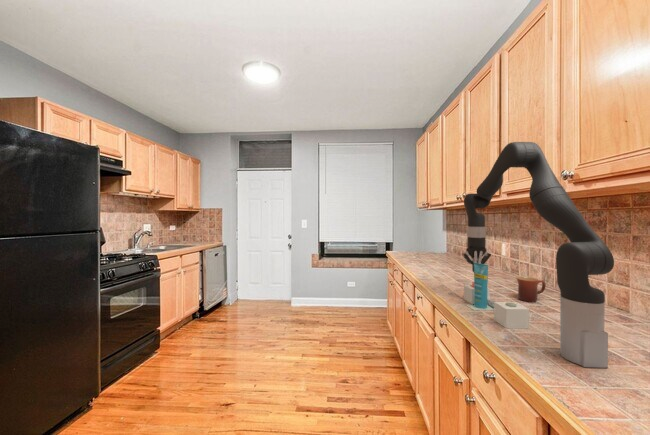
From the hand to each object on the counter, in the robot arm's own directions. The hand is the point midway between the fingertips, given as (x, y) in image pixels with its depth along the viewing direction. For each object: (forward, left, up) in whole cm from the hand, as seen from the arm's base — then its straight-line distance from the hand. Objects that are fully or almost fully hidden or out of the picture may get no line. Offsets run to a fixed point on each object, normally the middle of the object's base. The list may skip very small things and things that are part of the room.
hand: (476, 273), depth 131 cm
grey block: (0, 0, -14) cm, 14 cm away
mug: (+2, -27, -14) cm, 30 cm away
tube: (-9, +2, -13) cm, 16 cm away
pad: (-9, +2, -14) cm, 16 cm away
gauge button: (0, 0, -9) cm, 9 cm away
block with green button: (-27, 0, -14) cm, 30 cm away
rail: (-13, -4, -14) cm, 19 cm away
